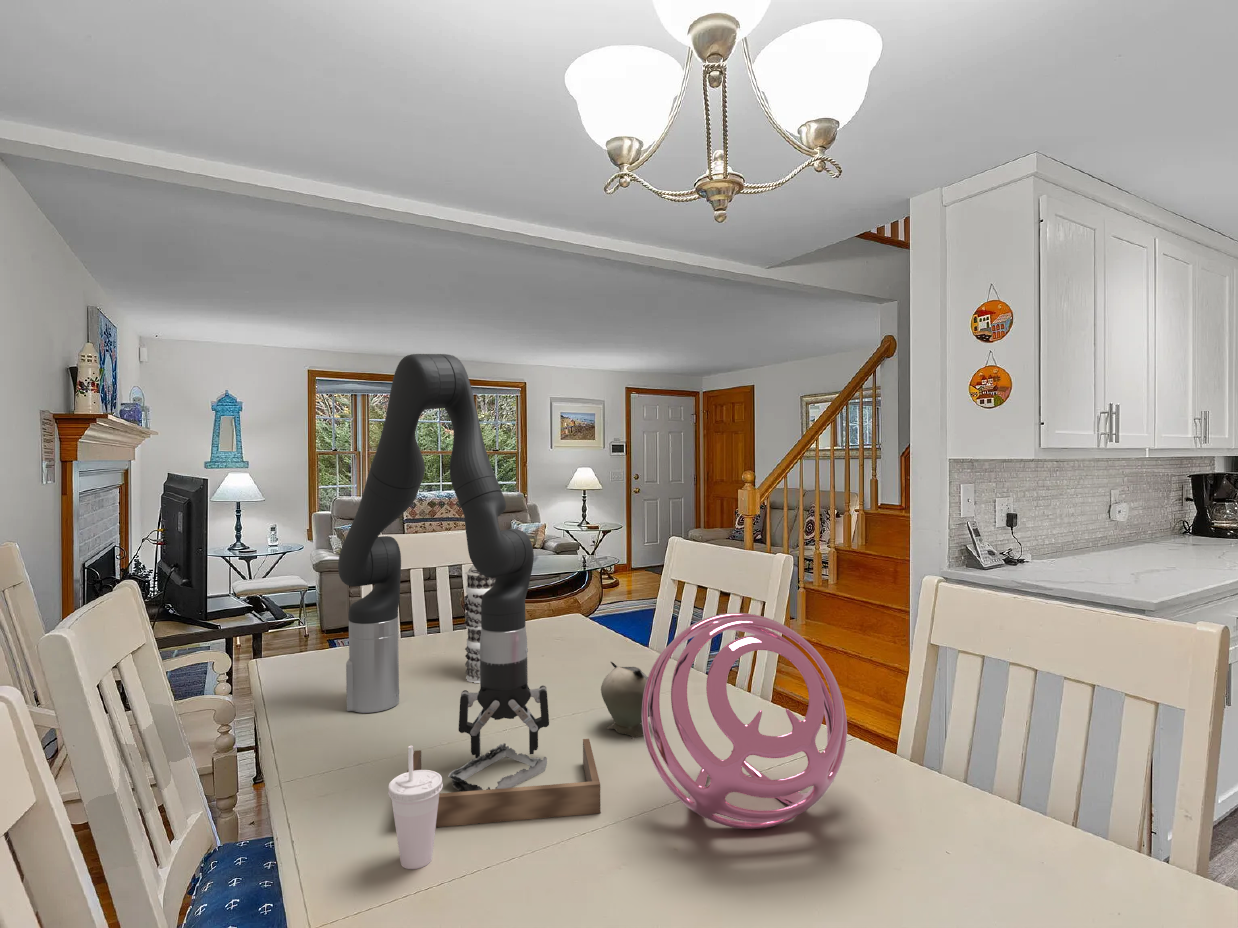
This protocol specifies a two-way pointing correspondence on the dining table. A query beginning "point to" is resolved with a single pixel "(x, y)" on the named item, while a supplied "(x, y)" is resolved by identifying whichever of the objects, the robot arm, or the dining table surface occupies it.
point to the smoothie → (415, 813)
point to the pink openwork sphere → (745, 726)
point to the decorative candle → (474, 620)
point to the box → (520, 799)
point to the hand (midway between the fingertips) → (504, 754)
